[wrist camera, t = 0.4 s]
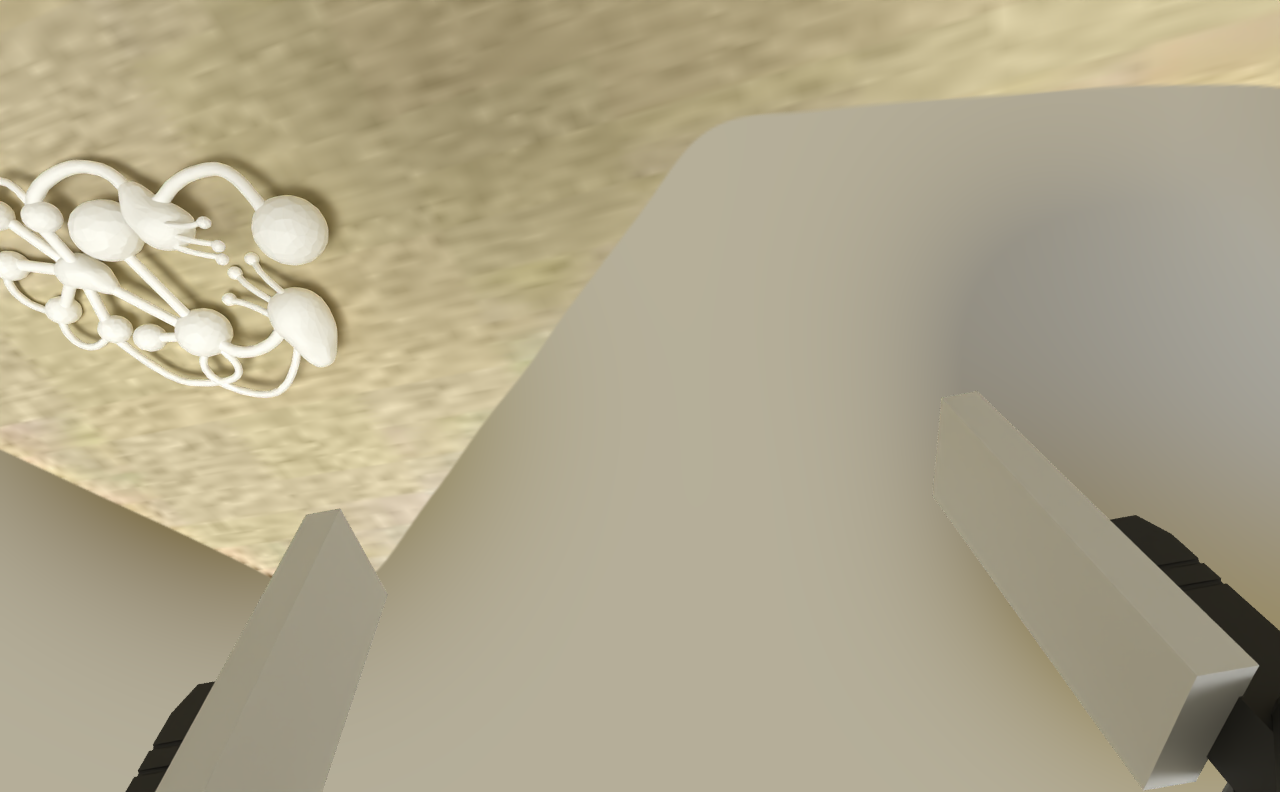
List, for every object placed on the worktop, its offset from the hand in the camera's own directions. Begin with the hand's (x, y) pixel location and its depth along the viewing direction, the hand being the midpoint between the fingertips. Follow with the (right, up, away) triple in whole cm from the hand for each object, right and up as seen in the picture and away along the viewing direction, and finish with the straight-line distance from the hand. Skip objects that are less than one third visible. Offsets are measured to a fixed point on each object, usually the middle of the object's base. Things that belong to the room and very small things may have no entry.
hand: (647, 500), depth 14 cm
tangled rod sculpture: (-27, +10, +25) cm, 38 cm away
